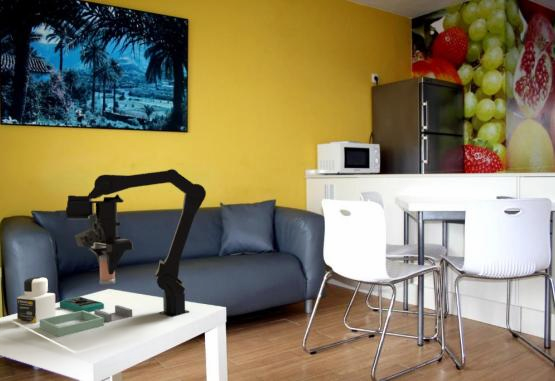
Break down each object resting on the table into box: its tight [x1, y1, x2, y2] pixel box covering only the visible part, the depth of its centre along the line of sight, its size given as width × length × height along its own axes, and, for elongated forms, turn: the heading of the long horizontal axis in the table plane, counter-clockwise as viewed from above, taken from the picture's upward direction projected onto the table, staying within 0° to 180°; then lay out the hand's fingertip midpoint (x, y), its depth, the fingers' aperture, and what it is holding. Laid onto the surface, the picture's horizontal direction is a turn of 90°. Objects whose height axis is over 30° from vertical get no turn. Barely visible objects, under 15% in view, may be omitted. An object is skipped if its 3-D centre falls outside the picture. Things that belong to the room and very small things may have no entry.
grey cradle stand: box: [93, 304, 133, 323], centre depth 137 cm, size 8×7×2 cm
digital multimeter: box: [59, 296, 105, 313], centre depth 148 cm, size 7×15×3 cm, turn 50°
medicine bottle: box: [16, 276, 57, 324], centre depth 136 cm, size 7×7×12 cm
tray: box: [39, 310, 105, 338], centre depth 128 cm, size 12×12×2 cm
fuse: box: [99, 254, 116, 286], centre depth 135 cm, size 4×4×8 cm
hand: (107, 273), depth 135 cm, fingers closed on fuse, 4 cm apart
